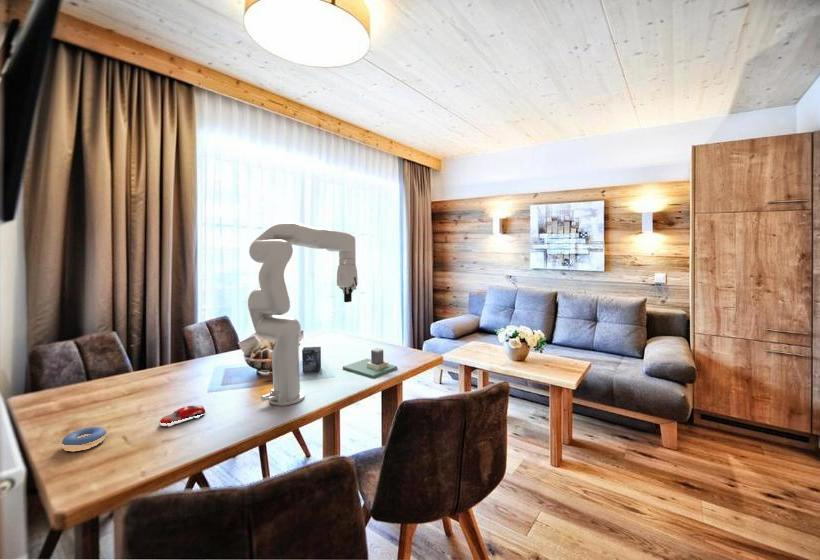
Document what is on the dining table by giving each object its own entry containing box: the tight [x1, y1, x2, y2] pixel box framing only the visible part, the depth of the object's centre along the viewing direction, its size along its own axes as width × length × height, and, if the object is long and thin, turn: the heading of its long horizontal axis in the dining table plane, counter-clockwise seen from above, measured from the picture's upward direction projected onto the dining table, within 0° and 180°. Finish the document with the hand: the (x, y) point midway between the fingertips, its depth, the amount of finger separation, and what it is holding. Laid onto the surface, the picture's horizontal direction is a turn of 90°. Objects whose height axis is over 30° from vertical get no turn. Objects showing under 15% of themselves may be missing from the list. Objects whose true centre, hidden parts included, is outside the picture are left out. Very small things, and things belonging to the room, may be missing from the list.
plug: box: [370, 347, 385, 365], centre depth 173 cm, size 4×4×8 cm
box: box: [301, 346, 322, 373], centre depth 172 cm, size 8×6×11 cm
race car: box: [159, 404, 206, 424], centre depth 123 cm, size 13×5×4 cm, turn 136°
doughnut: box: [61, 426, 107, 445], centre depth 108 cm, size 10×10×5 cm
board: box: [342, 358, 398, 379], centre depth 174 cm, size 16×20×3 cm
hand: (347, 301), depth 172 cm, fingers closed
